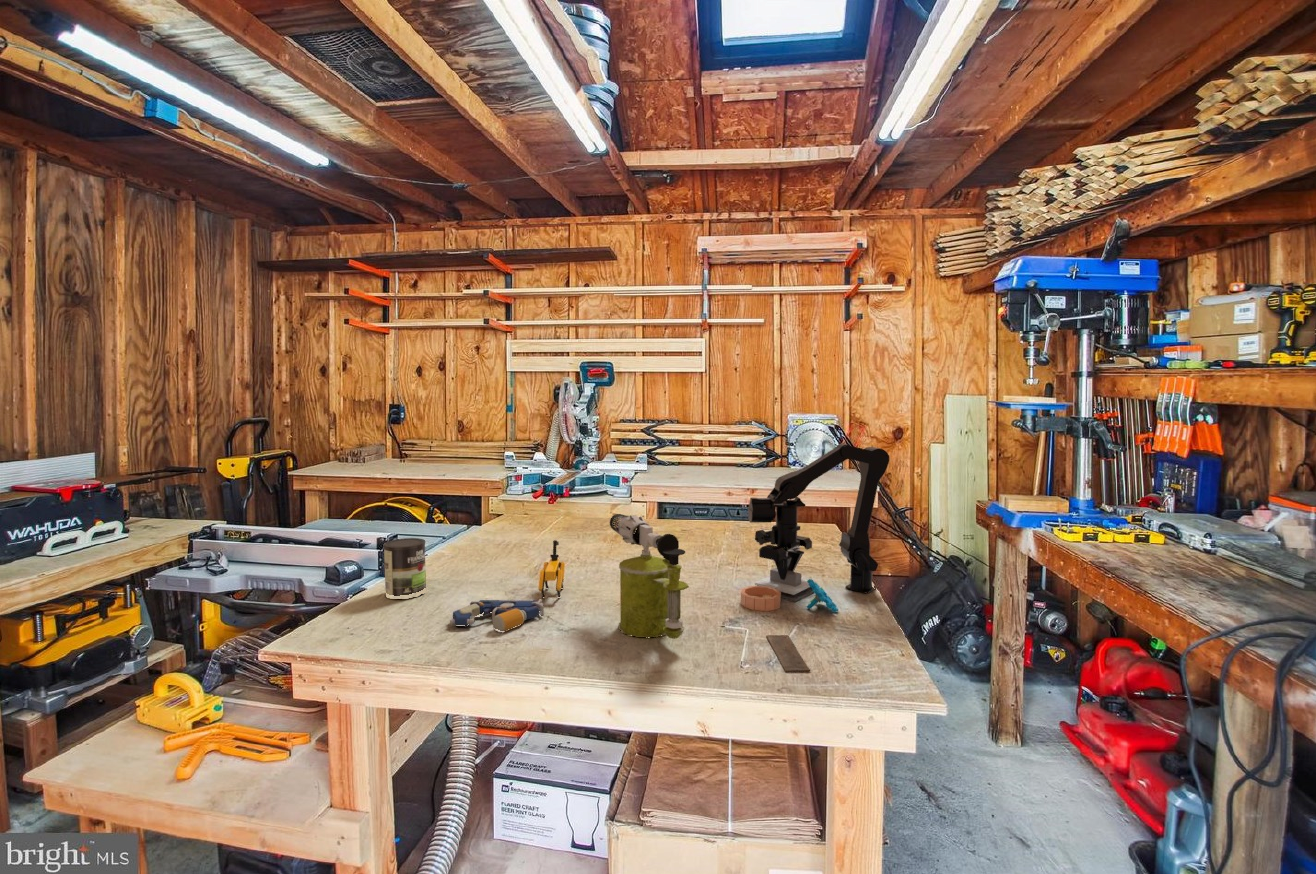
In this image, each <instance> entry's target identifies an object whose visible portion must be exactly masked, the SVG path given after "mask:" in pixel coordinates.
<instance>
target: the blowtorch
mask: <svg viewBox="0 0 1316 874" xmlns="http://www.w3.org/2000/svg"><path fill="white" fill-rule="evenodd" d="M609 526H610V528H611V529H612V530H613V531H614V532H616V533H617V534H618V535H620V537H622V541H623V542H625V543H626V544H630V545H633V546H634V545H638V546H642V547H643V549H641V554H639V555H640V556H634V557H629V558H627V559H624V560H622V561H620V562H619V564H618V568H619V569H620V575H619V576H620V578H619V579H620V582H619V583H620V585H619V586H620V590H619V591H620V592H619V593H620V595H619V597H620V604H619V605H620V609H619V610H620V621H619V622H618V630H619V629H620V630H621V631H622V632H623V633H624V634H623V633H622V632H621V633H622V634H623V635H625V634H627V635H626V636H628V635H632V636H636V637H647V638H646V639H649V638H648V637H656V638H659V637H658V636H660V637H662V636H661V635H665V636H667V637H668V638H669V639H673V640H675V639H678V638H679V637H681V636H682V634H683V633H684V632H683V631H684V630H685V627H684V626H683V618H681V616H682V615H681V609H682V608H681V603H682V602H681V597H682V596H681V592H682V591H684V590H686V589H688V588H689V587H690V586H689V584H688V583H686V582H684V581H682V580H680V579H681V569H683V567H682V566H681V565H679V560H680V559H679V556H682V555H684V554H686V551H685V550H684V549H682V548H679V546H680V545H679V544H680V543H679V540H678V537H677V536H675V535H674V534H671V533H665V534H663V535H661V534H659V533H654V530H653V527H652V526H651V525H650V524H648V523H647V521H646V520H645V519H644V518H643V517H642V516H637V514H634V515H633V514H631V515H625V514H621V513H616V514H613V515H612V516H611V518H610V519H609ZM651 547H652V548H654V549H656V550H657V551H658V553H659V554H660V556H662V557H659V556H654V555H652V554H651V549H649V548H651ZM620 630H619V631H620ZM636 637H635V638H636Z"/></svg>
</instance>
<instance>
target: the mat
mask: <svg viewBox="0 0 1316 874" xmlns="http://www.w3.org/2000/svg"><path fill="white" fill-rule="evenodd" d="M756 586H758V585H756ZM819 588H821V587H819ZM780 592H781V591H780ZM812 594H815V593H814V592H813V589H812V588H811V587H809V588H807V589H805V590H803V591H801V592H799V593H797V594H795V595H792V594H788V593H784V592H781V600H786V601H789V602H794V603H796V602H798V601H801V600H802V599H804V598H806V597H809V596H810V595H812Z"/></svg>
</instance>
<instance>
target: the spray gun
mask: <svg viewBox="0 0 1316 874" xmlns="http://www.w3.org/2000/svg"><path fill="white" fill-rule="evenodd" d="M542 601H543V598H539V599H538V600H536V599H480V600H478V601H476V600H475V601H473V600H472V601H471V602H470V603H469V605H466V606H464V607H462V608H459V609H457V610H454V611H453V612H452V619H450V620H449V625H454V626H455V625H465V626H467V625H468V624H469V626H472V625H475V622H476V621H482V620H485V619H487V618H492V619H491V621H492V627H493V629H494V628H495V629H498V630H500V631H506V630H508V629H511V628H513V627H515V626H518V625H520V624H522V625H524V622H525V621H526V620H530V619H533V618H536V617H539V611H540V615H541V616H543V617H544V616H545V609H544V607H545V606H544V603H543V602H542ZM483 612H484V615H483V616H480V617H475V616H477V615H479V614H482V613H483ZM490 612H492V613H490ZM488 613H489V614H488ZM541 616H540V617H541Z"/></svg>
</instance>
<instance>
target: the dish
mask: <svg viewBox="0 0 1316 874" xmlns="http://www.w3.org/2000/svg"><path fill="white" fill-rule="evenodd" d="M781 601H782V598H781V592H780V591H778V590H777V589H775V588H771V587H766V586H757V585H749V586H746V587H742V588H741V589H740V605H742V606H743V607H744V608H745V609H750V610H752V611H759V612H760V611H762V612H768V611H775V610H777V609H779V608H781V603H782V602H781Z"/></svg>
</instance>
